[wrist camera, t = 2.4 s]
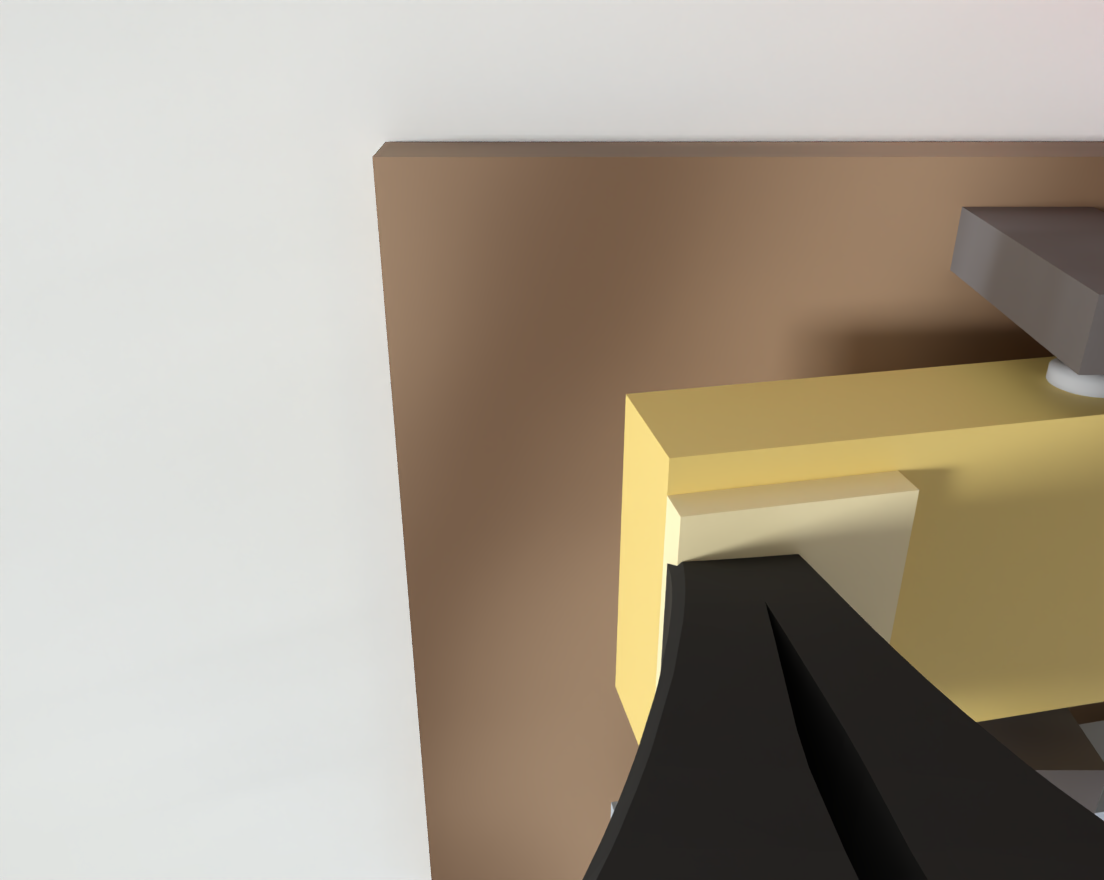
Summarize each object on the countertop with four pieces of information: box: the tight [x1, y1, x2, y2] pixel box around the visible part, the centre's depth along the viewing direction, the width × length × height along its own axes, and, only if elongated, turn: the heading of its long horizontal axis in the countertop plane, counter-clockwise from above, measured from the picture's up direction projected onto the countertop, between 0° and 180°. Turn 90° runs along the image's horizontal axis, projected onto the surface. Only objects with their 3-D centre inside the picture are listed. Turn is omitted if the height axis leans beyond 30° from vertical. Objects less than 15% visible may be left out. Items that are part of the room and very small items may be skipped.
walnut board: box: [373, 142, 1104, 880], centre depth 14 cm, size 16×14×4 cm
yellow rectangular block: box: [615, 356, 1104, 745], centre depth 11 cm, size 10×4×2 cm, turn 90°
